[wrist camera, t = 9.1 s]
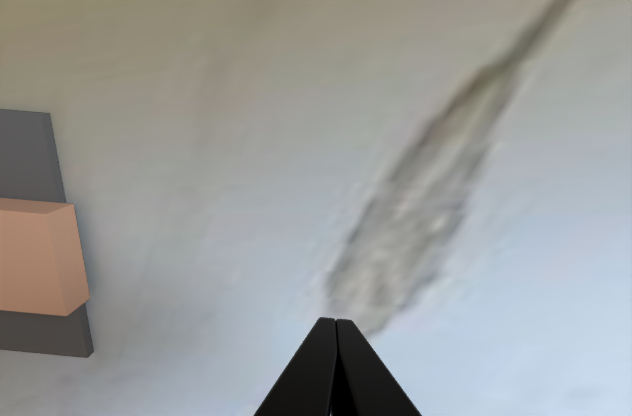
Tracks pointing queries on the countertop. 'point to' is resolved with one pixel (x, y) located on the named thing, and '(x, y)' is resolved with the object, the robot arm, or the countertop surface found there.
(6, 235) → the tile
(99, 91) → the countertop surface
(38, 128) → the mat
